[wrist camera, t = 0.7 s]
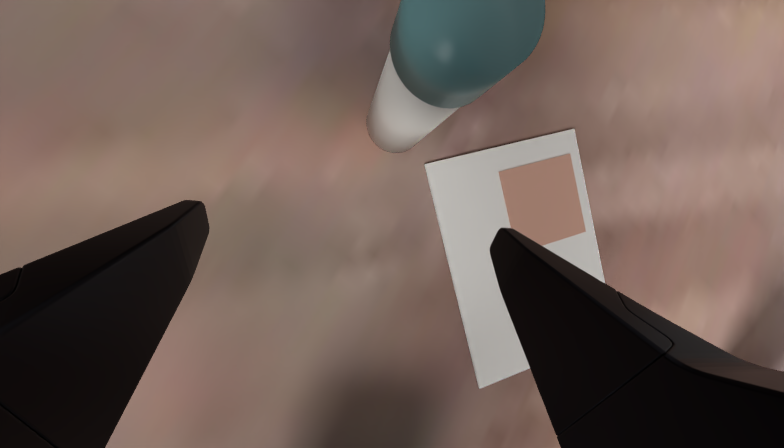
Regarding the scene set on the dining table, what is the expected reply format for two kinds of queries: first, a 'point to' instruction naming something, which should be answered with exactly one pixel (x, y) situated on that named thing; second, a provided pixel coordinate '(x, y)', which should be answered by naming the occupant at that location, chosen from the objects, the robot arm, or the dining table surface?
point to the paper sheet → (509, 210)
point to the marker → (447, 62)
